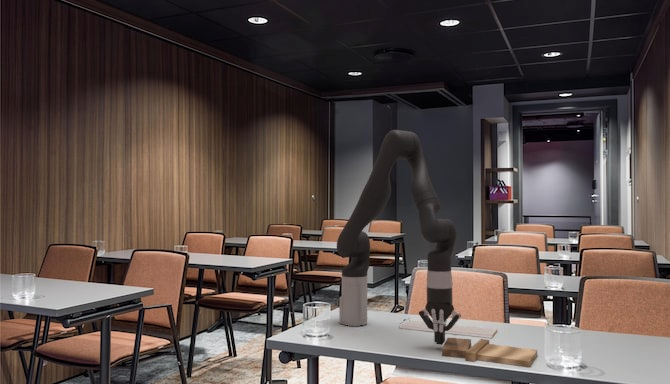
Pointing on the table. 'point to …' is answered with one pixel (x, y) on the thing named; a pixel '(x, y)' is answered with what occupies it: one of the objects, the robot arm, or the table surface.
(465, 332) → the baseboard molding
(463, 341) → the plank
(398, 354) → the table surface
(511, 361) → the floor edge
